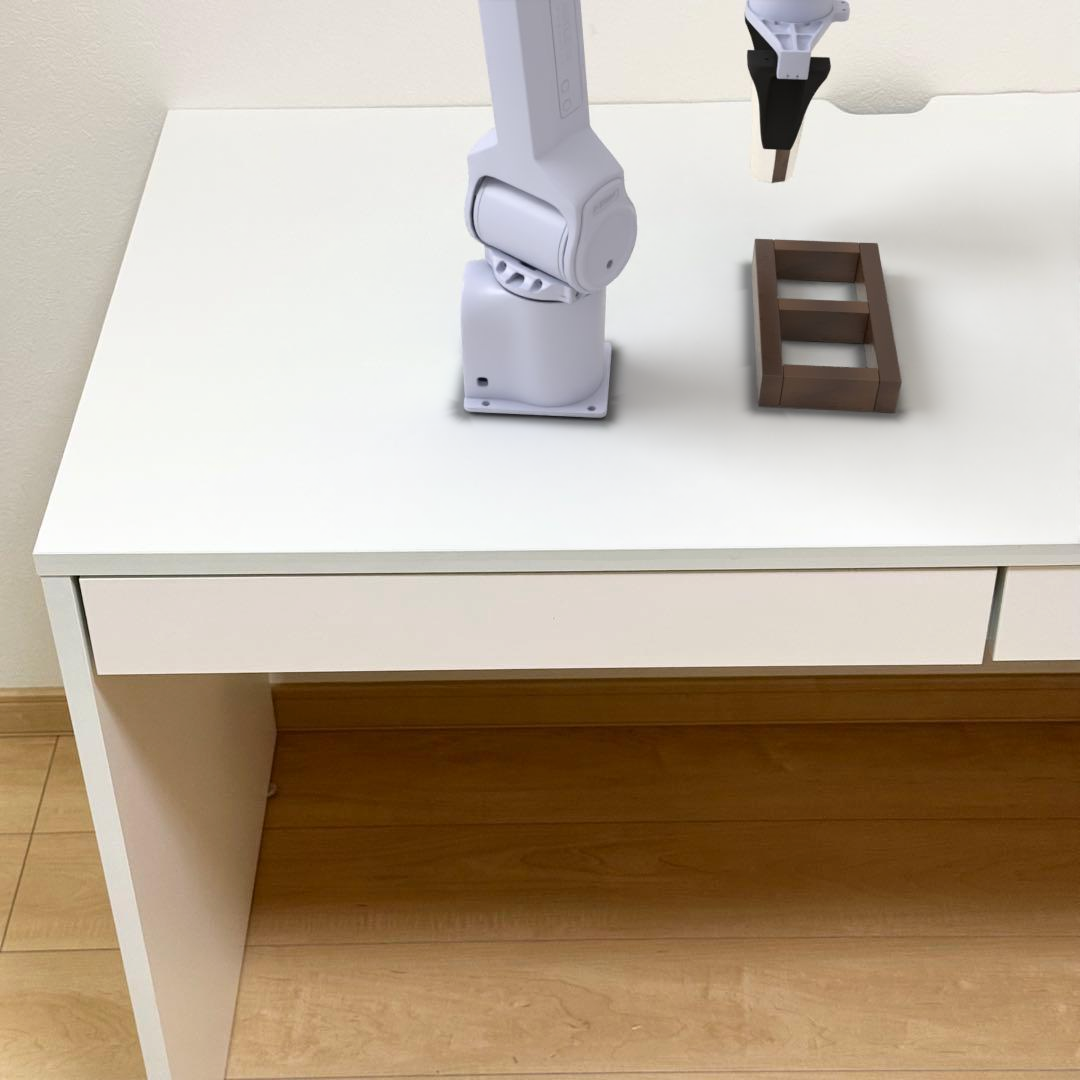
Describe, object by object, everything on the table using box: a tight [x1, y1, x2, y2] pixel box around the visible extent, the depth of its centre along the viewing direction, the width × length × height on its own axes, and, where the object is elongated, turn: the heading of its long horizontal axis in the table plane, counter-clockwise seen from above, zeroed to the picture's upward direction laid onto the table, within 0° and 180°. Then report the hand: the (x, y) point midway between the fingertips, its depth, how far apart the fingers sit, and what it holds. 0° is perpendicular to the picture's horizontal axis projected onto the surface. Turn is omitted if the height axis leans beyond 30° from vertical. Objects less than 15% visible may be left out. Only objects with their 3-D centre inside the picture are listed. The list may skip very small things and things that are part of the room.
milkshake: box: [749, 77, 808, 184], centre depth 98 cm, size 5×5×10 cm
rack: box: [750, 238, 903, 414], centre depth 95 cm, size 9×17×3 cm, turn 175°
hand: (775, 128), depth 100 cm, fingers closed on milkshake, 5 cm apart
